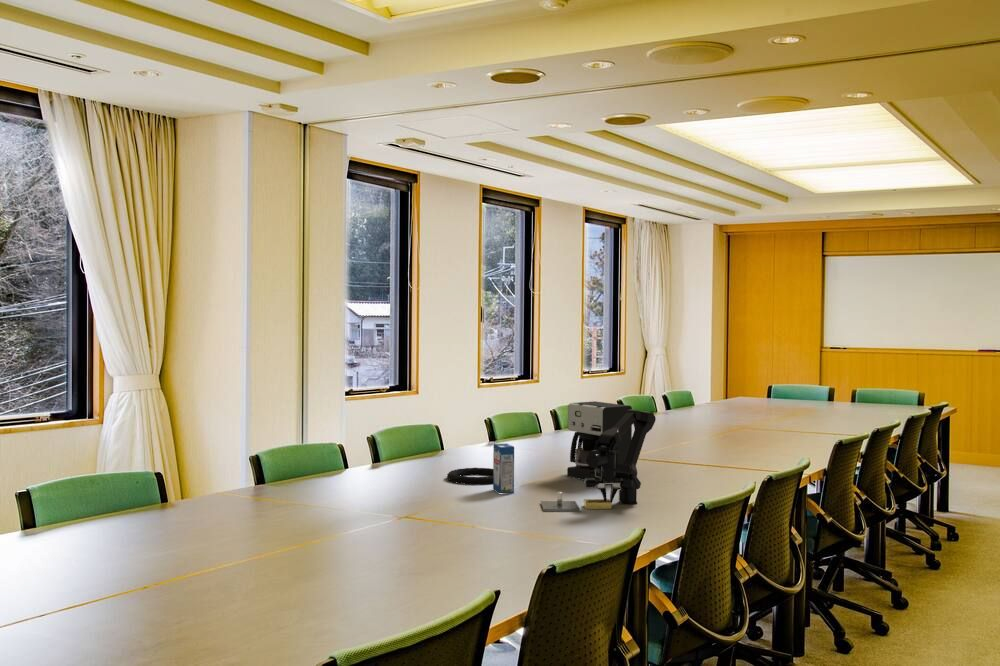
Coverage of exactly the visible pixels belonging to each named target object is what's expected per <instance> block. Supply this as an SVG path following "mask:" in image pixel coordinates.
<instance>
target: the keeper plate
mask: <svg viewBox="0 0 1000 666" xmlns="http://www.w3.org/2000/svg"><path fill="white" fill-rule="evenodd" d="M556 498H557V499H556V500H540V505H542V506H541V507H543V508H542V510H544V511H543V512H581V511H580V509H581V508H580V507H579V505H578V504H577V501H576V500H564V501H563V491H557V497H556Z"/></svg>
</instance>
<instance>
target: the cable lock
mask: <svg viewBox="0 0 1000 666" xmlns="http://www.w3.org/2000/svg"><path fill="white" fill-rule="evenodd" d="M470 474H473V475H472V476H471V475H470ZM475 474H479V475H478V476H475ZM446 475H447V476H446V478H447V480H448V481H449V482H451V481H452V482H451V483H455V482H457V483H456V484H461V483H465V484H464V485H474V484H480V485H491V484H490V483H493V468H489V467H488V468H487V467H465V468H457V469H454V470H450V471H449V472H448V473H447V474H446ZM460 475H464V476H460ZM488 475H492V476H488Z"/></svg>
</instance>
